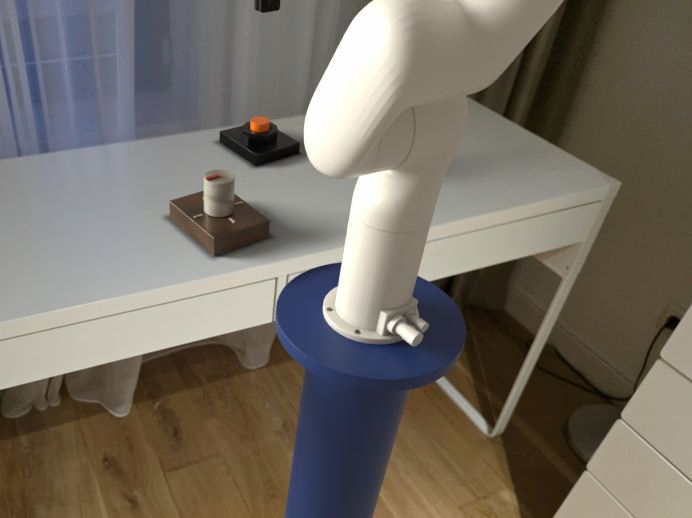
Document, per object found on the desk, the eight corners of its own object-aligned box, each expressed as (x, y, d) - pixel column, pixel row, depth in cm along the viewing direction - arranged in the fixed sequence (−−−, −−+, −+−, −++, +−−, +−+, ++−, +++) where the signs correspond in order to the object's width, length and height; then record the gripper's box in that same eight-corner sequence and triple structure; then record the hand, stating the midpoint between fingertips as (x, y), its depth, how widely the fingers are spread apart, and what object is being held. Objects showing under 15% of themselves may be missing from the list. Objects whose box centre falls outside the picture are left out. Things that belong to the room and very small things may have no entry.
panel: (269, 237, 100) (270, 219, 98) (213, 256, 96) (214, 237, 94) (222, 201, 108) (222, 183, 106) (169, 217, 104) (168, 199, 102)
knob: (223, 199, 102) (223, 164, 99) (239, 212, 100) (241, 176, 96) (198, 207, 101) (197, 172, 97) (214, 220, 98) (214, 184, 94)
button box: (299, 154, 122) (301, 133, 120) (255, 166, 118) (256, 145, 115) (261, 131, 130) (262, 111, 127) (219, 142, 125) (219, 121, 123)
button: (273, 131, 121) (274, 121, 120) (257, 135, 120) (258, 125, 118) (262, 124, 123) (262, 115, 122) (246, 128, 122) (246, 118, 121)
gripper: (215, -163, 81) (214, 1, 93) (288, -154, 72) (277, 27, 84) (264, -164, 84) (257, -5, 96) (341, -156, 75) (323, 19, 87)
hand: (267, 10), depth 90 cm, fingers closed
